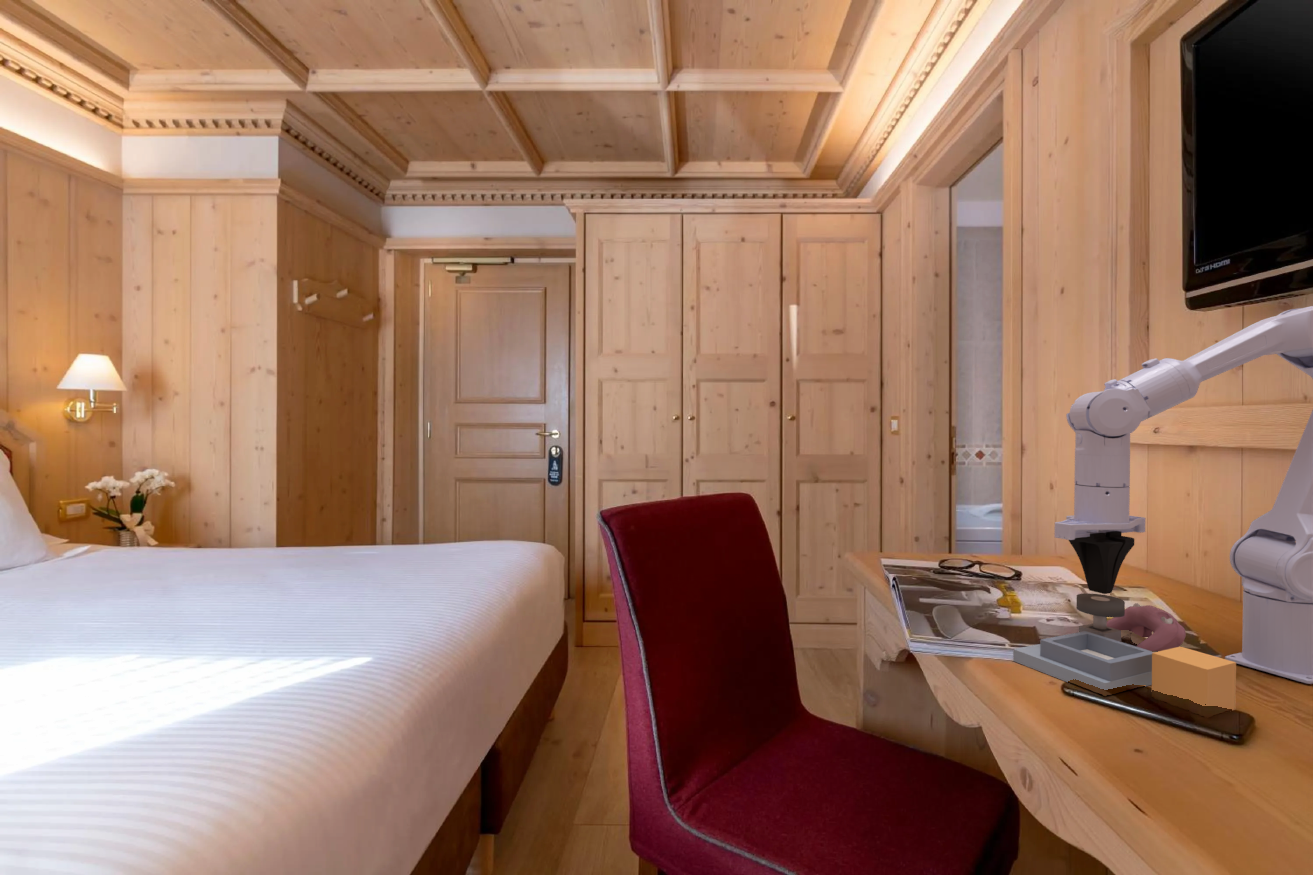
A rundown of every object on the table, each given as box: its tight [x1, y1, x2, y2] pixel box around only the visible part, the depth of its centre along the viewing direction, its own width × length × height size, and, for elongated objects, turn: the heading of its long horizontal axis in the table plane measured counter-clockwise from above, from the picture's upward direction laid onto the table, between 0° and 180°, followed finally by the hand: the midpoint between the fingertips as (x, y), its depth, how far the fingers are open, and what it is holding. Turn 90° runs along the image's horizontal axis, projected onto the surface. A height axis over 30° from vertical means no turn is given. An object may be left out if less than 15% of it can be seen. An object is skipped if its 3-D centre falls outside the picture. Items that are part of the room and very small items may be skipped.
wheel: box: [1076, 592, 1126, 629], centre depth 79 cm, size 5×5×4 cm
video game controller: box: [1107, 602, 1187, 651], centre depth 81 cm, size 10×5×7 cm, turn 169°
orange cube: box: [1151, 646, 1237, 711], centre depth 66 cm, size 5×5×5 cm
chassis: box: [1012, 623, 1154, 690], centre depth 75 cm, size 14×11×4 cm
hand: (1100, 591), depth 79 cm, fingers closed
